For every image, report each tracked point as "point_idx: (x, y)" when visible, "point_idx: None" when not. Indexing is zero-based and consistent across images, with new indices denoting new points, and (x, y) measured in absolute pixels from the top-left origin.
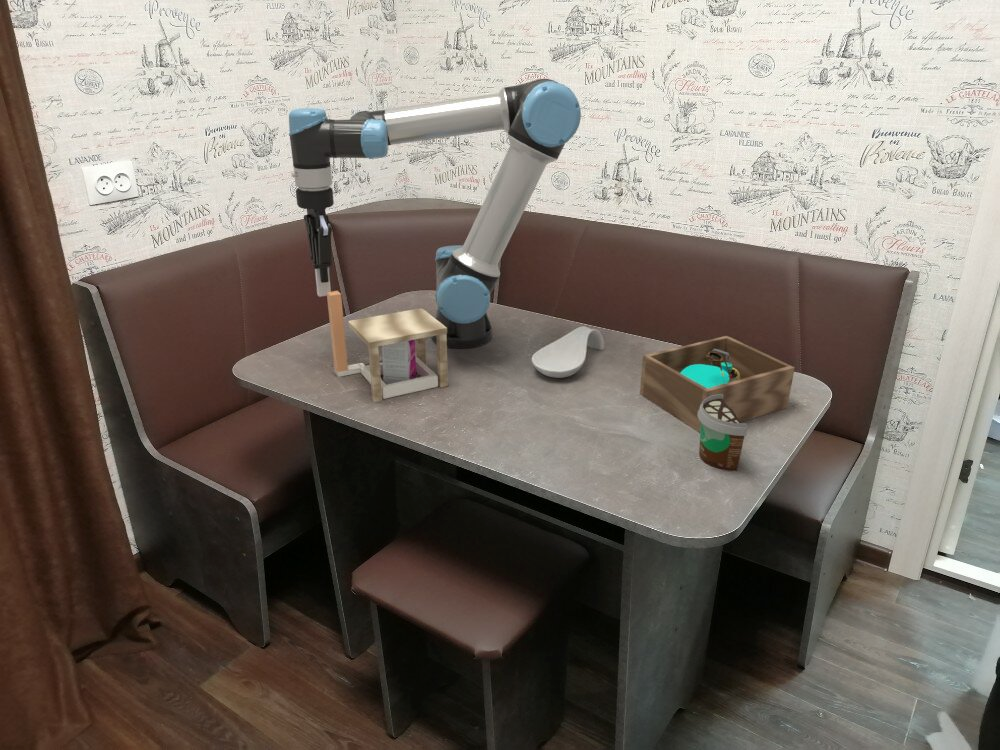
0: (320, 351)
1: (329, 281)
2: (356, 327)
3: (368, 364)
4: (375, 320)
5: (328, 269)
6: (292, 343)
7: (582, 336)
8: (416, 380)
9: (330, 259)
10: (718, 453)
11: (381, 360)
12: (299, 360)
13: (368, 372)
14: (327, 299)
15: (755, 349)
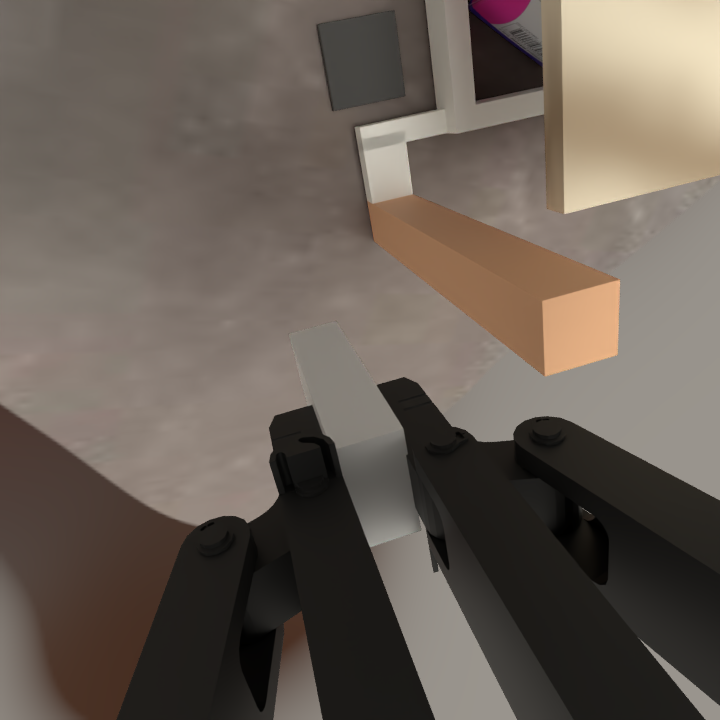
0: (136, 288)
1: (364, 366)
2: (671, 177)
3: (346, 96)
4: (628, 41)
5: (393, 417)
6: (23, 398)
7: None
8: None
9: (630, 464)
10: None
11: (318, 25)
12: (217, 365)
13: (514, 120)
14: (519, 354)
15: None
